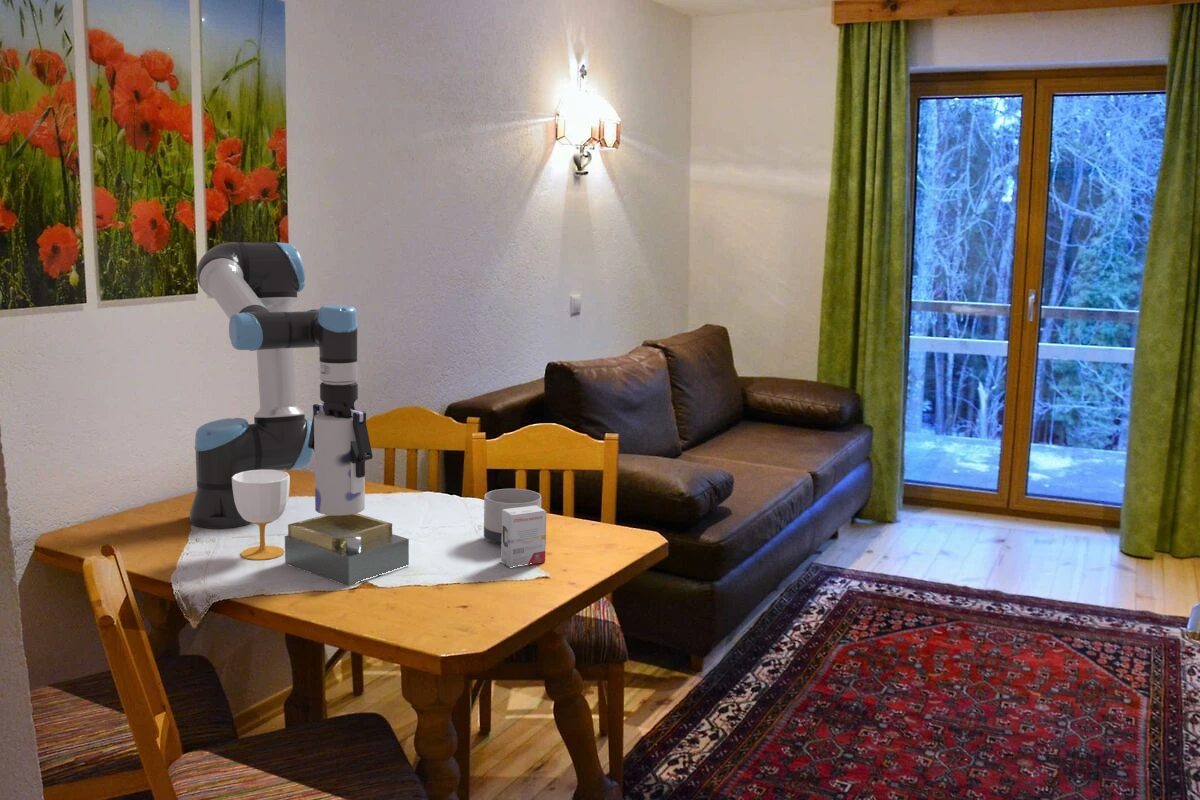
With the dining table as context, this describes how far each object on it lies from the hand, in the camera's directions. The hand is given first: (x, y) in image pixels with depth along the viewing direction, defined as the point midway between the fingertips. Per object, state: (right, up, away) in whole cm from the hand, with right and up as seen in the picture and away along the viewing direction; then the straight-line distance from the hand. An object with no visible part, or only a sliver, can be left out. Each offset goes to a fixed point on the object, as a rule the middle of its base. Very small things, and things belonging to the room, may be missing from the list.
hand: (340, 487), depth 227 cm
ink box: (+37, -17, +7) cm, 42 cm away
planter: (+34, -14, +22) cm, 43 cm away
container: (0, -5, +1) cm, 5 cm away
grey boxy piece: (+1, -16, +2) cm, 17 cm away
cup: (-18, -15, +8) cm, 25 cm away
